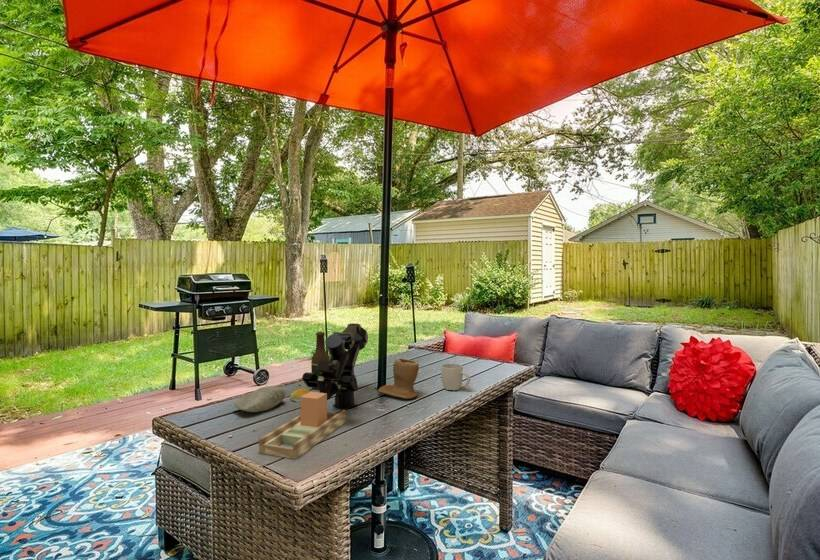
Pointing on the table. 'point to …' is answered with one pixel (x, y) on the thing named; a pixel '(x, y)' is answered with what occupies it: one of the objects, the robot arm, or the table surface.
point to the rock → (261, 399)
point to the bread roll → (299, 394)
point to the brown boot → (402, 379)
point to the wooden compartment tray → (298, 436)
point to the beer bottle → (319, 354)
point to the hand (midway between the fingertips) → (320, 404)
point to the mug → (453, 376)
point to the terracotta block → (313, 409)
